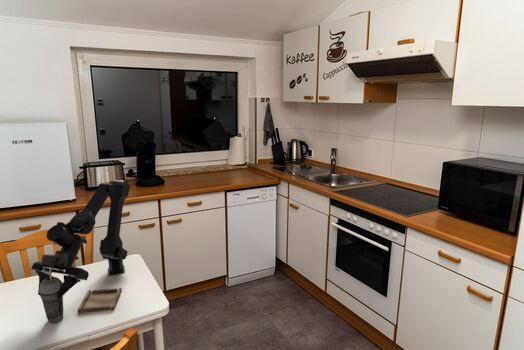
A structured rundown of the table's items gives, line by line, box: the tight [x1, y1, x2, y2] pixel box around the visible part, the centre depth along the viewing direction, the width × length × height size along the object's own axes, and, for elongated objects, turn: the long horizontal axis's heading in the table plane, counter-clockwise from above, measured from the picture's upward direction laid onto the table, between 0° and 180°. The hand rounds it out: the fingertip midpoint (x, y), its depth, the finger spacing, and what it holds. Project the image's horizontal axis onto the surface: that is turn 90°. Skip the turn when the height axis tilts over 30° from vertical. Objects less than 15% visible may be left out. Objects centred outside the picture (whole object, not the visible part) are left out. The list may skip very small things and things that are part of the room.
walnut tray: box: [77, 287, 123, 314], centre depth 131 cm, size 12×12×2 cm
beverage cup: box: [38, 267, 64, 325], centre depth 119 cm, size 7×7×20 cm
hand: (48, 296), depth 118 cm, fingers closed on beverage cup, 7 cm apart
